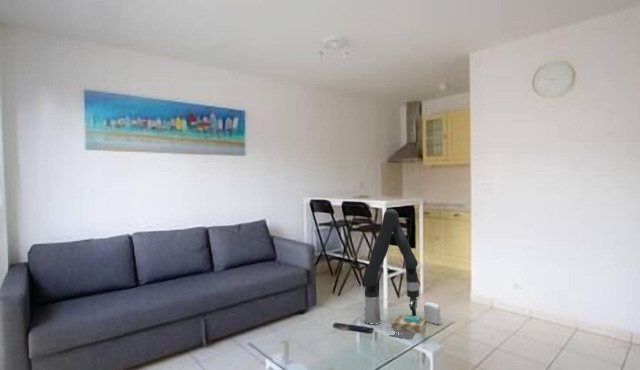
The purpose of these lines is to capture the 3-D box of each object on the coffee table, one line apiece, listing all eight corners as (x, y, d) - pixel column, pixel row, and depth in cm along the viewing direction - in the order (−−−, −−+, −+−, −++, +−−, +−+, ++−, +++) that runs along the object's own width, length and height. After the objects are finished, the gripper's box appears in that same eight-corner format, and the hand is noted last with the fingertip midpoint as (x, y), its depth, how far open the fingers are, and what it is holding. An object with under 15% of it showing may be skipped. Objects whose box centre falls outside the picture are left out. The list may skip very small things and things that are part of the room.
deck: (392, 328, 216) (391, 322, 216) (397, 321, 226) (397, 315, 226) (421, 333, 207) (421, 326, 207) (426, 325, 218) (425, 318, 218)
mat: (389, 336, 205) (389, 335, 205) (393, 329, 214) (393, 329, 214) (411, 339, 199) (411, 339, 199) (415, 332, 208) (415, 332, 208)
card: (403, 321, 216) (403, 318, 216) (406, 317, 222) (406, 314, 222) (418, 323, 212) (418, 319, 212) (420, 319, 217) (420, 316, 217)
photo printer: (423, 321, 225) (422, 302, 225) (427, 319, 227) (426, 300, 227) (438, 325, 217) (437, 305, 217) (442, 323, 219) (440, 303, 219)
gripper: (409, 285, 230) (410, 311, 229) (404, 291, 218) (405, 319, 218) (420, 286, 226) (422, 313, 226) (416, 292, 214) (418, 320, 214)
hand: (414, 316), depth 222 cm, fingers closed
